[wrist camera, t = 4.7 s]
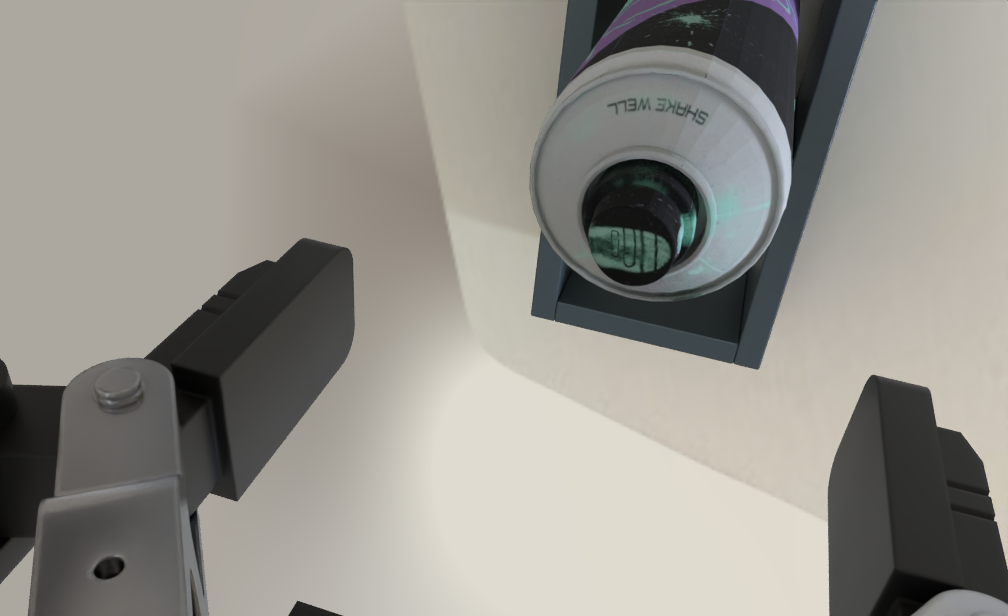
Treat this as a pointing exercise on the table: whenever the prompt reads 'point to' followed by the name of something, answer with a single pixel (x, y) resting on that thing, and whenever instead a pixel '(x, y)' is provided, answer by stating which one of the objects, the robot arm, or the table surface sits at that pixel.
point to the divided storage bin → (758, 292)
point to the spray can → (672, 147)
